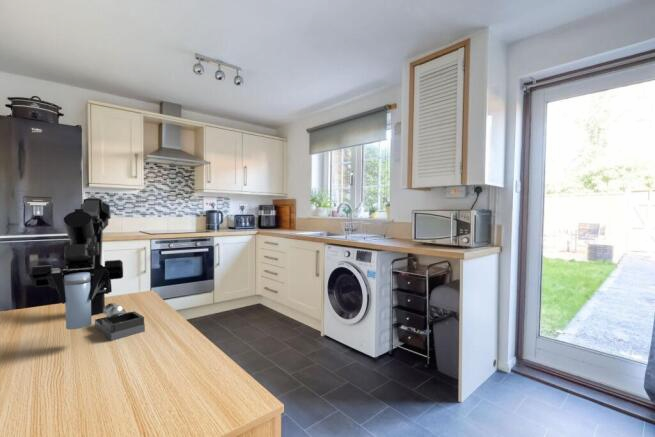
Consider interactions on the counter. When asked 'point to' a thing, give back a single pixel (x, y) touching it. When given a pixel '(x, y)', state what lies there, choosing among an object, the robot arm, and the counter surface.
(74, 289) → the dome-capped cylinder
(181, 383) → the counter surface
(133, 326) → the dark grey open box
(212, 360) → the counter surface
